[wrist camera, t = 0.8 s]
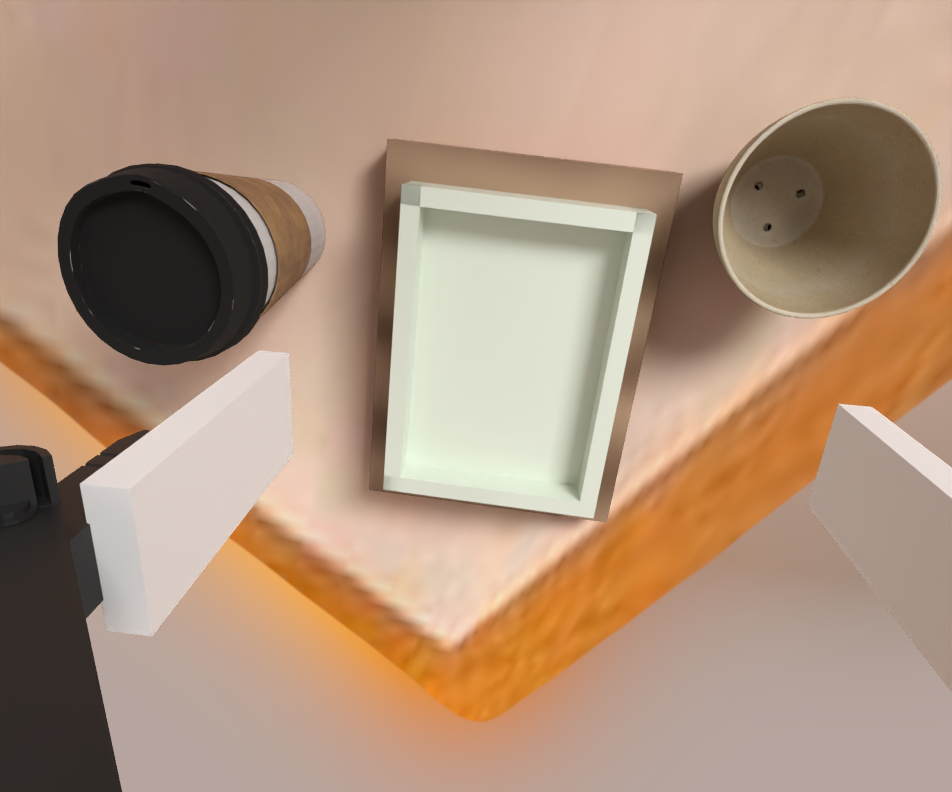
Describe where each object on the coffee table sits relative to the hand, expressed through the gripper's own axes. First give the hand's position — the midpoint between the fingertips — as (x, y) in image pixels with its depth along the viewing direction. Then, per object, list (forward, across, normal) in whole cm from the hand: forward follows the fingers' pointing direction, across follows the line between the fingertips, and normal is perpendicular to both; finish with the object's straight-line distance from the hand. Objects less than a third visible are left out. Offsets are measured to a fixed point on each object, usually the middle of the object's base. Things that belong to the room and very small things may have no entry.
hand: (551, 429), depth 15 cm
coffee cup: (+25, -16, 0) cm, 30 cm away
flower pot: (+25, +13, +4) cm, 29 cm away
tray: (+22, -1, -5) cm, 23 cm away
